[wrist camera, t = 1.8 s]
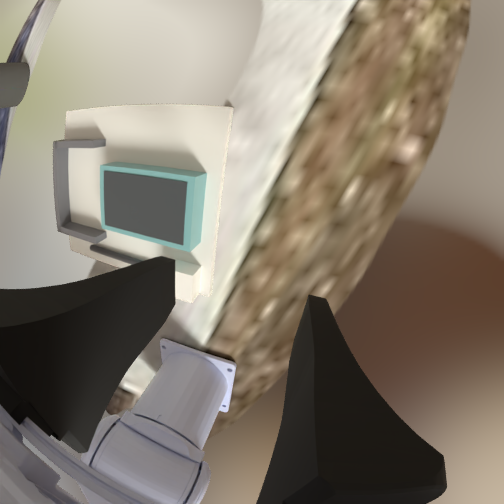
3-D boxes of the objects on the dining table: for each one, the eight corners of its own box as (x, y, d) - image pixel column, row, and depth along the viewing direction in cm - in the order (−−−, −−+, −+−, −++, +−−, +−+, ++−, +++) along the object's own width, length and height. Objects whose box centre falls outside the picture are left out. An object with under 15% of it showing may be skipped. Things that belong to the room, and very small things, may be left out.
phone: (207, 172, 17) (194, 177, 15) (200, 242, 19) (189, 252, 18) (115, 161, 18) (99, 165, 17) (115, 221, 21) (100, 228, 19)
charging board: (233, 107, 16) (221, 104, 14) (212, 293, 22) (201, 308, 20) (71, 110, 18) (53, 112, 16) (74, 247, 24) (60, 256, 22)
